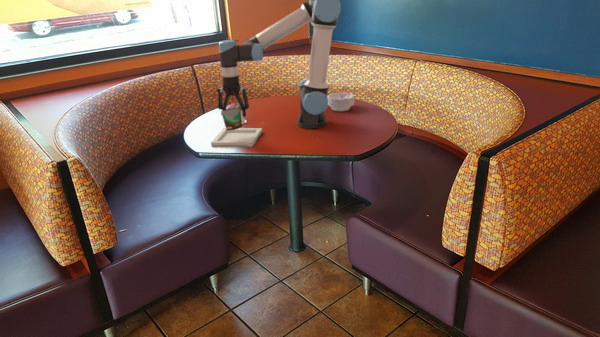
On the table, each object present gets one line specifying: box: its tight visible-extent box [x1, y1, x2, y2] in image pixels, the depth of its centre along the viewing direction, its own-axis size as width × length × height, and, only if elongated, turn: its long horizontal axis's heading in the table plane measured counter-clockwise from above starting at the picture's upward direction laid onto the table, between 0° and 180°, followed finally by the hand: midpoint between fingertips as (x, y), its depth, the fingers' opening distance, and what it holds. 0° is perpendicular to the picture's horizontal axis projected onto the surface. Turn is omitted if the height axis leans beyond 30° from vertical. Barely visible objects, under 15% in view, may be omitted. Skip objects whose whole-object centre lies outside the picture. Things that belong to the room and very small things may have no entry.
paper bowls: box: [327, 92, 355, 112], centre depth 254 cm, size 15×15×8 cm
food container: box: [220, 103, 243, 130], centre depth 215 cm, size 12×6×10 cm, turn 151°
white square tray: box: [210, 127, 263, 148], centre depth 219 cm, size 20×20×2 cm
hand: (235, 123), depth 216 cm, fingers closed on food container, 7 cm apart
